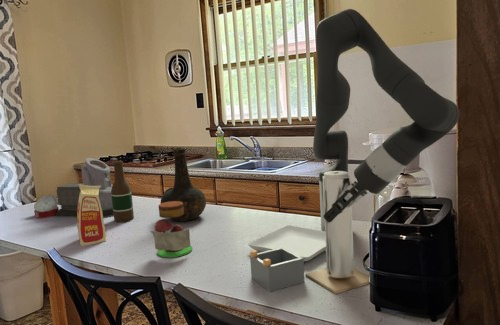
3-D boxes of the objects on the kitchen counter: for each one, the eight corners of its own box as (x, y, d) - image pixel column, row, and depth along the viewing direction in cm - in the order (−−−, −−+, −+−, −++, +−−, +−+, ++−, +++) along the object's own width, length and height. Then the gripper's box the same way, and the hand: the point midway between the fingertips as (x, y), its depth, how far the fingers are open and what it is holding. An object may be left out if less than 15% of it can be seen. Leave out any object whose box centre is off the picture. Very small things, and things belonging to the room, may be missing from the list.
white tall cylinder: (354, 279, 99) (351, 174, 96) (326, 278, 101) (322, 175, 97) (353, 268, 106) (350, 169, 102) (327, 267, 107) (323, 170, 103)
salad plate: (307, 269, 111) (307, 256, 111) (246, 253, 125) (246, 242, 125) (346, 245, 127) (345, 234, 127) (288, 234, 141) (287, 224, 140)
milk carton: (81, 246, 141) (73, 187, 138) (78, 239, 149) (71, 183, 146) (109, 240, 145) (102, 183, 142) (105, 233, 153) (98, 179, 150)
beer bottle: (110, 222, 169) (103, 162, 165) (122, 216, 176) (116, 159, 172) (125, 223, 166) (119, 162, 162) (138, 217, 173) (132, 159, 169)
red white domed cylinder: (61, 223, 190) (67, 204, 188) (41, 227, 182) (47, 207, 179) (45, 210, 195) (52, 191, 192) (25, 213, 186) (31, 193, 183)
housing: (284, 269, 111) (282, 242, 110) (304, 281, 103) (303, 253, 102) (249, 278, 107) (247, 250, 106) (268, 292, 98) (266, 262, 97)
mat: (343, 265, 111) (343, 263, 111) (376, 281, 101) (376, 278, 101) (305, 275, 106) (305, 273, 106) (335, 293, 95) (335, 291, 95)
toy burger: (152, 248, 134) (147, 202, 132) (192, 243, 137) (188, 197, 135) (152, 261, 123) (147, 211, 121) (195, 255, 125) (191, 206, 123)
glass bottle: (180, 211, 179) (174, 145, 175) (216, 214, 171) (210, 145, 167) (152, 222, 164) (145, 151, 160) (189, 226, 156) (183, 151, 152)
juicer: (131, 208, 189) (126, 154, 186) (111, 218, 174) (104, 160, 171) (74, 208, 197) (68, 156, 194) (50, 217, 182) (42, 161, 179)
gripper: (376, 152, 101) (331, 197, 109) (358, 161, 89) (308, 211, 97) (399, 174, 99) (351, 219, 107) (384, 187, 87) (331, 236, 95)
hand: (331, 215), depth 102 cm, fingers closed on white tall cylinder, 6 cm apart
